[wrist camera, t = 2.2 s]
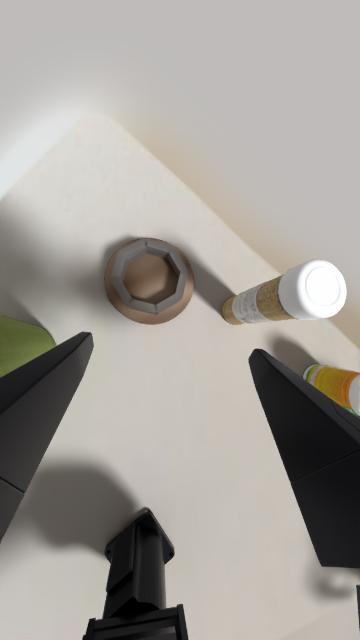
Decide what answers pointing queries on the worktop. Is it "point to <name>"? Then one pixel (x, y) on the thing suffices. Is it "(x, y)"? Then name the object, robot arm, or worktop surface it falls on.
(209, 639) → the worktop surface
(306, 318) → the sprinkles bottle
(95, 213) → the worktop surface
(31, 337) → the plant pot
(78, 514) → the worktop surface
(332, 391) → the supplement bottle
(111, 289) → the brown grey round base
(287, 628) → the worktop surface
